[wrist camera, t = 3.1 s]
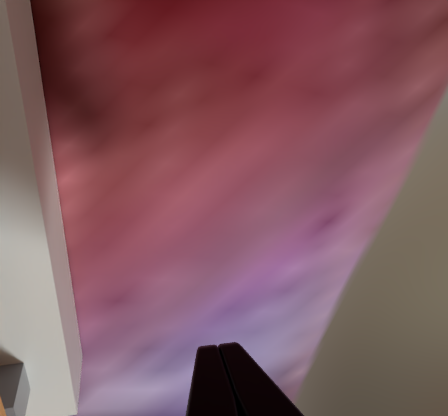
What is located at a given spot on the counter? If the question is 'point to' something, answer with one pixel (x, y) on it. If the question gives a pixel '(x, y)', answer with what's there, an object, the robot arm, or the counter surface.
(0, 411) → the fader orange
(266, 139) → the counter surface
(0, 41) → the console
